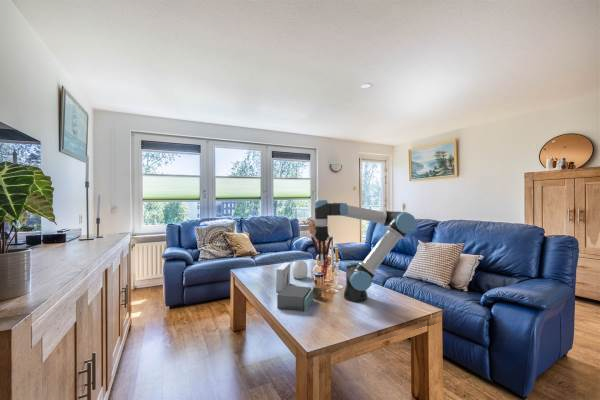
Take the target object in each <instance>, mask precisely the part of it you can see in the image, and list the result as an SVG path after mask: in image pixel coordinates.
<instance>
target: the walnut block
mask: <svg viewBox="0 0 600 400" xmlns="http://www.w3.org/2000/svg"><path fill="white" fill-rule="evenodd" d="M312 289H313V300H314V299H315V300H321V297H322V285H314V286H312Z"/></svg>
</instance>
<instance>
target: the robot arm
mask: <svg viewBox="0 0 600 400" xmlns="http://www.w3.org/2000/svg"><path fill="white" fill-rule="evenodd" d="M330 216H333V217H334V216H335V217H337V216H341V217H345V218H346V217H347V218H352V219H357V220H363V221H368V222H372V223H377V224H380V225H381V226H386V231H385V232H384V233H383V235H382V236H381V238H379V240H378V241H377V243H376V244H375V246H373V248H371V251H370V252H368V254H367V256H366V257H365V258H364V259H363V261H347V262H346V263H345V278H346V279H345V282H346V283H345V288H344V291H343V298H344V299H345V300H347V301H349V302H354V303H357V302H358V303H359V302H360V303H361V302H365V301H367V300H368V292H367V290H368V289H369V288H370V287H371V286H372V283H373V281H372V280H373V279H374V278H375V276H376V270H377V269H378V268H379V266H380V265H381V264H382V263H383V262H384V260H385V258H386V257H387V256H388V255H389V254H390V253H391V250H393V248H394V247H395V246H396V245H397V243H398V242H399V240H401V239H405V237H406V236H407V235H408V234H410V233H412V232H414V230H415V229H416V226H417V220H416V218H415V216H414V215H412V214H411V213H409V212H406V211H393V210H392V211H391V210H384V211H382V210H381V211H380V210H376V209H371V208H365V207H360V206H354V205H350V204H348V203H346V202H332V203H330V202H328V200H327V199H323V200H322V199H319V200H318V199H317V200H315V202H314V225H315V227H314V228H315V229H314V231H315V234H314V235H313V236H312V237H311V238H310V240H311V241H312V244H313V247H314V250H315V253H316V254H317V255H318V260H320V266H323V267H324V265H325V261H326V255H327V254H328V253H329V252H330V251H329V250H330V247H331V242H332V241H333V236H332V237H331V236H330V234H329V227H328V226H329V223H328V222H329V221H328V219H329V217H330ZM316 240H317V241H318V242H317V241H316ZM327 240H328V242H327V246H326V241H327ZM317 243H318V246H317Z"/></svg>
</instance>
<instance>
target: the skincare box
mask: <svg viewBox="0 0 600 400" xmlns="http://www.w3.org/2000/svg"><path fill="white" fill-rule="evenodd" d="M275 281H276V282H275V283H276V284H275V287H276V288H275V292H276V293H280V292H281V291H282V290H283V289H284V288H285V287H286V286H287V285H288V286H290V283H291V262H283V263H282V264H281V265H280V266H278V267H277V268H276V280H275Z"/></svg>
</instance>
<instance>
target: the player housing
mask: <svg viewBox="0 0 600 400" xmlns="http://www.w3.org/2000/svg"><path fill="white" fill-rule="evenodd" d="M311 289H312V287H311V286H300V285H298V286H297V285H287V286H286V287H285V288H284V289H283V290H282V291H281V292H278V293H277V295H276V301H277V303H276V305H277V306H276V307H277V309H279V310H285V311H286V310H288V311H295V312H296V311H298V312H305V311H304V298H305V296H307V294H308V293H309V291H310V290H311Z"/></svg>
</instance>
